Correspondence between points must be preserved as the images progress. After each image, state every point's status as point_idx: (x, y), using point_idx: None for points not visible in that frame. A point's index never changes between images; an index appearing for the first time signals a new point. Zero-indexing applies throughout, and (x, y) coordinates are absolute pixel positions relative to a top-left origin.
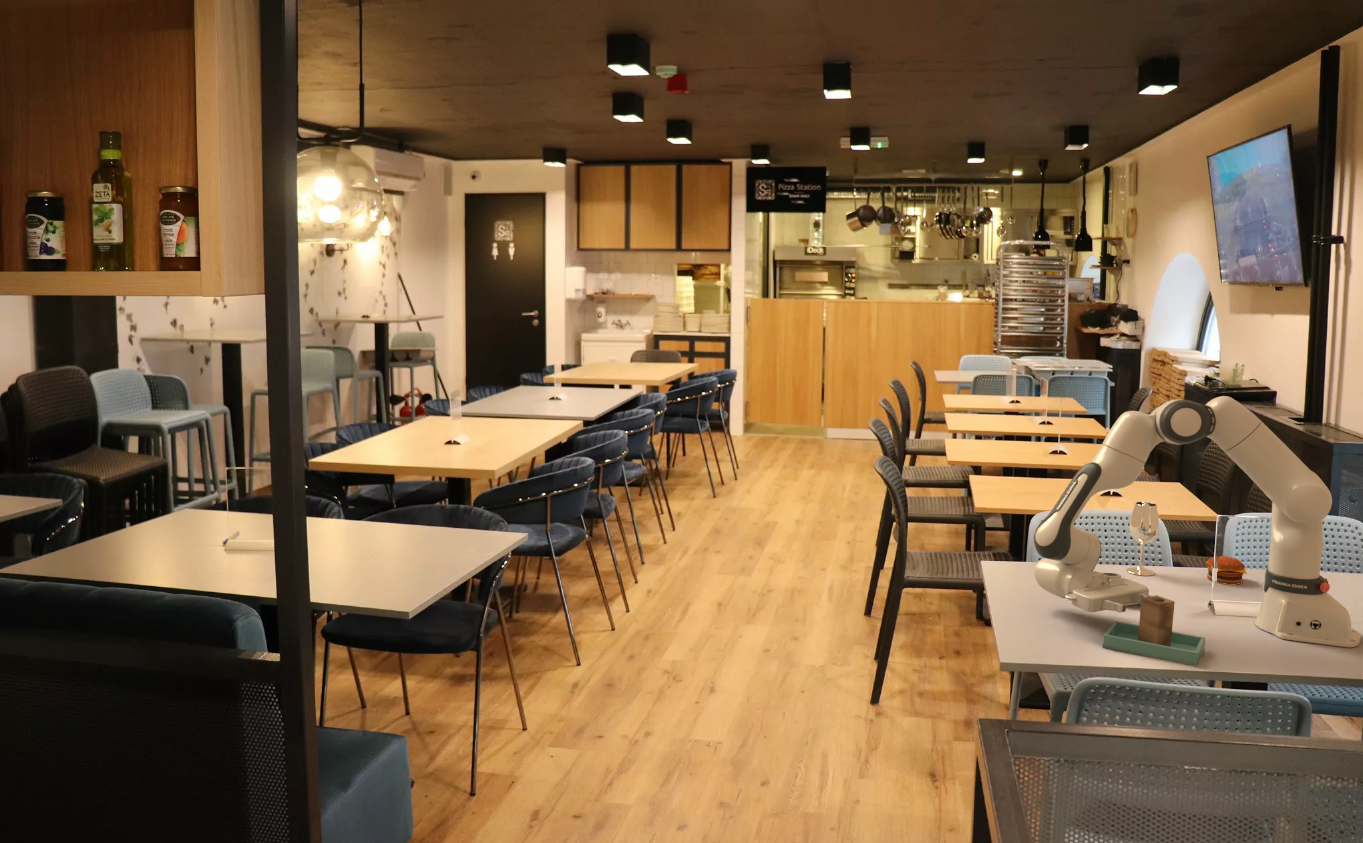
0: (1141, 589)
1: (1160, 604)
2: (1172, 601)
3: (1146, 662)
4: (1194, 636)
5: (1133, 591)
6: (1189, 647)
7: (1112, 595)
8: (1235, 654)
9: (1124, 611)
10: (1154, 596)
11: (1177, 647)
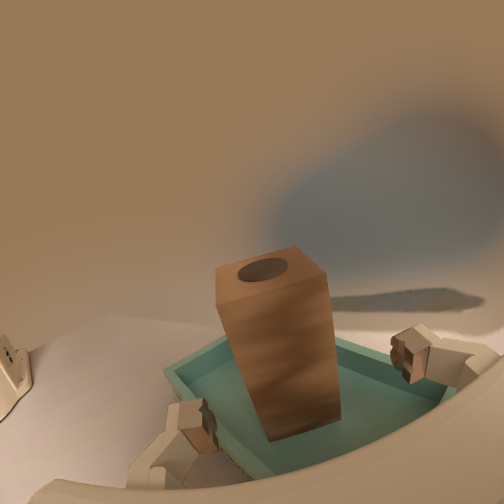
0: (97, 490)
1: (291, 247)
2: (223, 266)
3: (370, 341)
4: (178, 379)
5: (188, 490)
6: (210, 388)
7: (445, 401)
8: (145, 369)
9: (393, 360)
10: (242, 292)
11: (240, 392)
